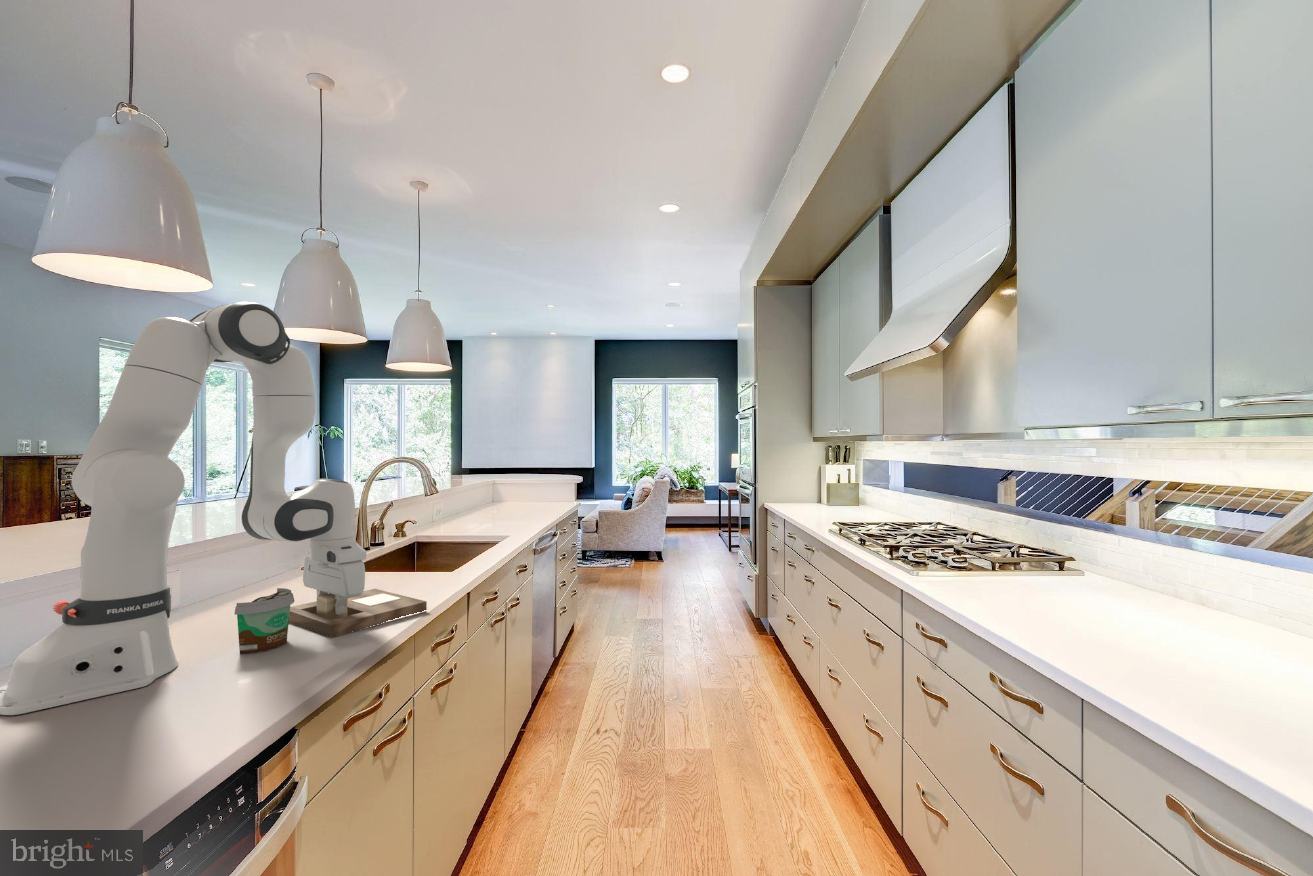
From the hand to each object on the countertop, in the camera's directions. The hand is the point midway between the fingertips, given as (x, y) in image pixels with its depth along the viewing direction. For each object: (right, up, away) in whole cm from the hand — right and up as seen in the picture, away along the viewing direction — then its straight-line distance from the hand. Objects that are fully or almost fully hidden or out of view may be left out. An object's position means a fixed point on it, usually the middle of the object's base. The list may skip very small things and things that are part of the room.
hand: (331, 611), depth 128 cm
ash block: (0, -2, 0) cm, 2 cm away
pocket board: (+3, -2, +5) cm, 6 cm away
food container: (-3, -2, -15) cm, 16 cm away
